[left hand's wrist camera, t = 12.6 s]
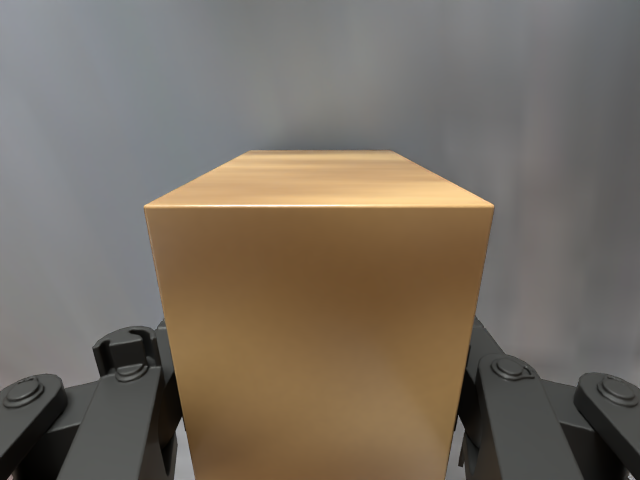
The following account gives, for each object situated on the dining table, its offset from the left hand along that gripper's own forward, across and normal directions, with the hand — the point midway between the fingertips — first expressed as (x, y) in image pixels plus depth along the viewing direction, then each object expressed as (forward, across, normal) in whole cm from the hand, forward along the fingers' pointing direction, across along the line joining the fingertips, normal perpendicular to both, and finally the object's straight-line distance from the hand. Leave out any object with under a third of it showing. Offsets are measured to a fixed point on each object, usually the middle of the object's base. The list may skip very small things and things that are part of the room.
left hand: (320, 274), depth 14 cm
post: (+1, 0, -32) cm, 32 cm away
